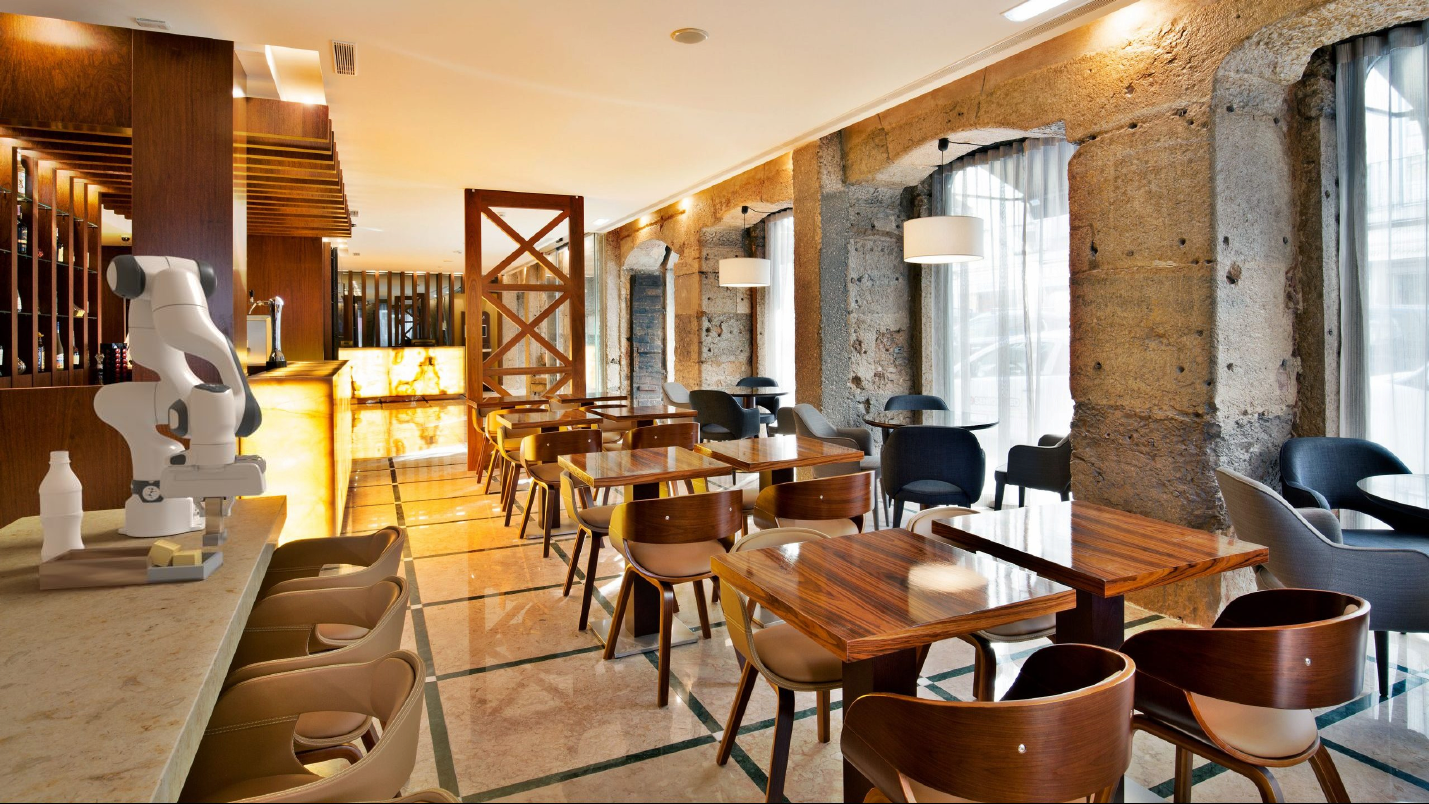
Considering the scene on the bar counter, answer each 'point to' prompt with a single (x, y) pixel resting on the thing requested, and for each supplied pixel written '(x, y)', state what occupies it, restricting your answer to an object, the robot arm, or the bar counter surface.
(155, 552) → the pale yellow block
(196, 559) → the pale yellow cube
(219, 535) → the wooden post on base
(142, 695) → the bar counter surface
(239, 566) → the bar counter surface
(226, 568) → the bar counter surface
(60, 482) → the water bottle
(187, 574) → the tray
